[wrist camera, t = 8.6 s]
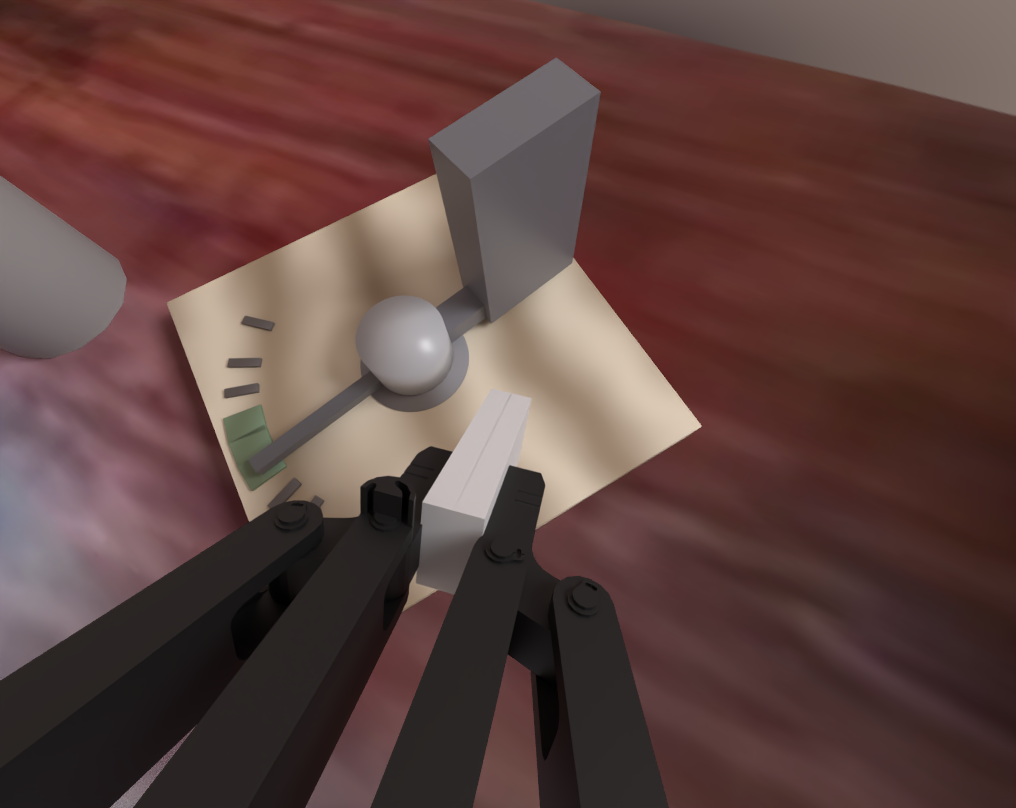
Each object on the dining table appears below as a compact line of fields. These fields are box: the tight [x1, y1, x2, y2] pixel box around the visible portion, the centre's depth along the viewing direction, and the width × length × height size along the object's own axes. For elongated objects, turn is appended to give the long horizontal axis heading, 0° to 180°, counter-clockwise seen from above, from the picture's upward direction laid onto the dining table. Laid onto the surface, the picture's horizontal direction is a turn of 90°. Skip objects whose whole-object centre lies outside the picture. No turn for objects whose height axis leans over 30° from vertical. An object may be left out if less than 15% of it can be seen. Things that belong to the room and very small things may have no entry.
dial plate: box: [167, 174, 701, 612], centre depth 25 cm, size 22×22×2 cm
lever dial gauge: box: [248, 58, 601, 474], centre depth 19 cm, size 20×4×10 cm, turn 130°
